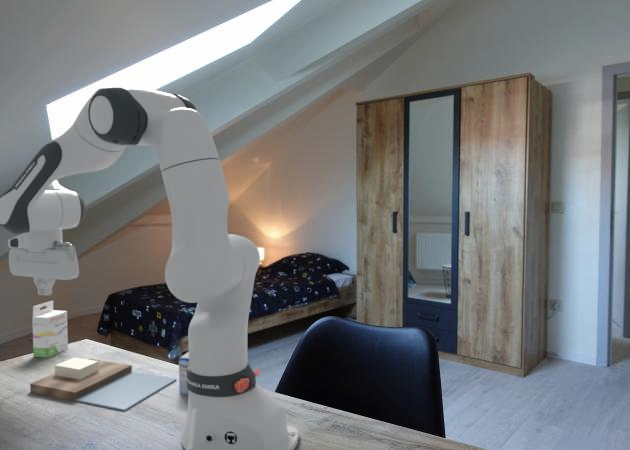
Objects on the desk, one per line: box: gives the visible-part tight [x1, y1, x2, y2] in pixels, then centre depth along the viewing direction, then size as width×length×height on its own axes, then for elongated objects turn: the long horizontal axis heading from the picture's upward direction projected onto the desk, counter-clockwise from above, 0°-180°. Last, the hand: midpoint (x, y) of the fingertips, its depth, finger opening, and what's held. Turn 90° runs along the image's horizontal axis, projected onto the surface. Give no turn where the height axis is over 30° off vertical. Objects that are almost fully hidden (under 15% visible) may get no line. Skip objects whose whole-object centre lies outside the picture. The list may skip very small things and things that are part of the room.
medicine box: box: [178, 351, 189, 395], centre depth 115 cm, size 8×4×9 cm, turn 168°
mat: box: [74, 370, 177, 412], centre depth 114 cm, size 14×18×1 cm
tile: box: [54, 356, 99, 380], centre depth 119 cm, size 8×6×2 cm
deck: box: [29, 358, 133, 402], centre depth 119 cm, size 14×18×2 cm
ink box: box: [31, 300, 69, 359], centre depth 140 cm, size 9×5×15 cm, turn 168°
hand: (45, 294), depth 122 cm, fingers closed
